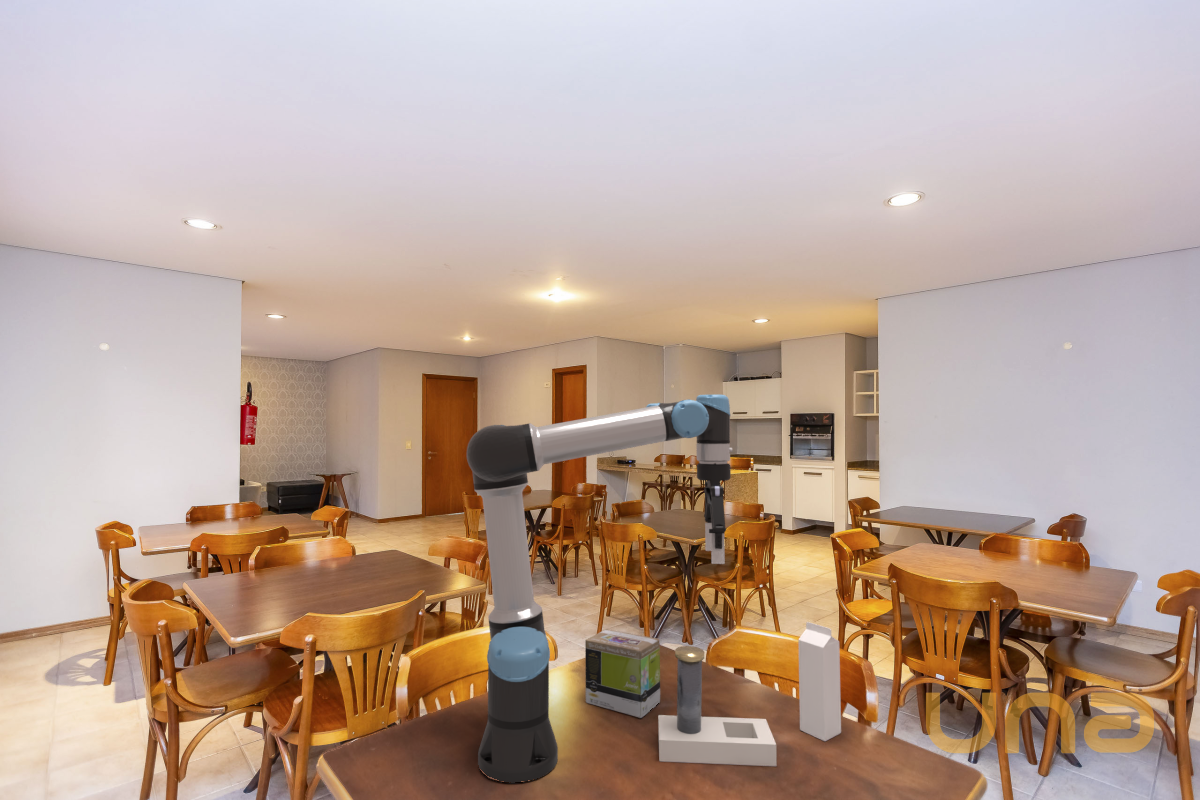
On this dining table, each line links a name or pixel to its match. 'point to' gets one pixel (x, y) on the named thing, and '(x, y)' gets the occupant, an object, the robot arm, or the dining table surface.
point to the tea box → (623, 672)
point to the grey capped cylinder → (689, 688)
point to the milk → (819, 682)
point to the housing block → (718, 742)
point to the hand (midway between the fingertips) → (714, 556)
